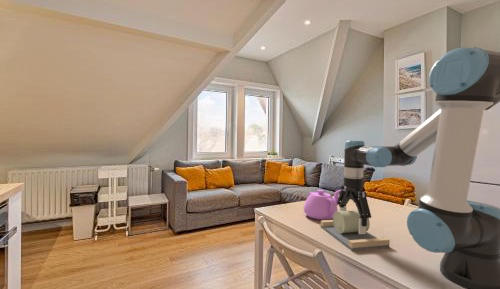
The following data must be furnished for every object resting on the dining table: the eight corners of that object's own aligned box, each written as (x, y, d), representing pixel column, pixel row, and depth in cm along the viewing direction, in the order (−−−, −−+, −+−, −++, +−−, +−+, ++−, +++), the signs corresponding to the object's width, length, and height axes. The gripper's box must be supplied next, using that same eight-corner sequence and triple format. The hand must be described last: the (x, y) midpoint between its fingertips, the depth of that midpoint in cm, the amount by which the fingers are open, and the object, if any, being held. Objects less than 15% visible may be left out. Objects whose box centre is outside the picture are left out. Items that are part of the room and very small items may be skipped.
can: (360, 233, 109) (335, 235, 107) (353, 212, 114) (329, 214, 112) (372, 229, 102) (346, 231, 99) (365, 207, 106) (339, 208, 104)
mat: (389, 247, 95) (389, 239, 94) (351, 250, 91) (351, 242, 91) (351, 225, 118) (351, 218, 118) (320, 227, 115) (320, 220, 115)
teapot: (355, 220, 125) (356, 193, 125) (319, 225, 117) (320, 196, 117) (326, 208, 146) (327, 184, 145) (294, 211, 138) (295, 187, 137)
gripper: (382, 182, 92) (380, 239, 93) (344, 172, 117) (343, 217, 118) (364, 183, 91) (362, 240, 92) (329, 173, 115) (328, 218, 116)
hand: (351, 227), depth 105 cm, fingers open, 13 cm apart
